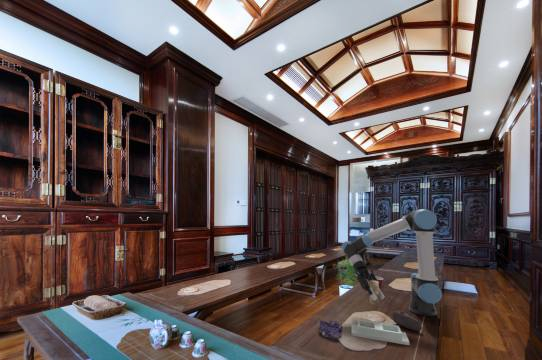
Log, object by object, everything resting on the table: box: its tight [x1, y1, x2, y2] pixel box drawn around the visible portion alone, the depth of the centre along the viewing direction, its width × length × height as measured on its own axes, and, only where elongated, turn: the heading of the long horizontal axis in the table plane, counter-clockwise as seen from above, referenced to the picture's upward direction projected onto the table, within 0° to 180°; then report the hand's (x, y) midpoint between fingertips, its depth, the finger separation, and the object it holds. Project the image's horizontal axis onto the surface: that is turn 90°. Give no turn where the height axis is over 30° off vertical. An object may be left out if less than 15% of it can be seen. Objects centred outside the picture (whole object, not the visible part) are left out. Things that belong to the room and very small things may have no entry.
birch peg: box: [368, 280, 380, 306], centre depth 147 cm, size 5×5×12 cm
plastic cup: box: [375, 275, 384, 290], centre depth 199 cm, size 11×11×12 cm
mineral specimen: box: [318, 320, 343, 340], centre depth 129 cm, size 11×14×4 cm
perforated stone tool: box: [392, 310, 423, 332], centre depth 139 cm, size 15×5×7 cm, turn 33°
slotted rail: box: [351, 318, 410, 346], centre depth 128 cm, size 26×10×4 cm, turn 72°
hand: (379, 299), depth 143 cm, fingers closed on birch peg, 5 cm apart
